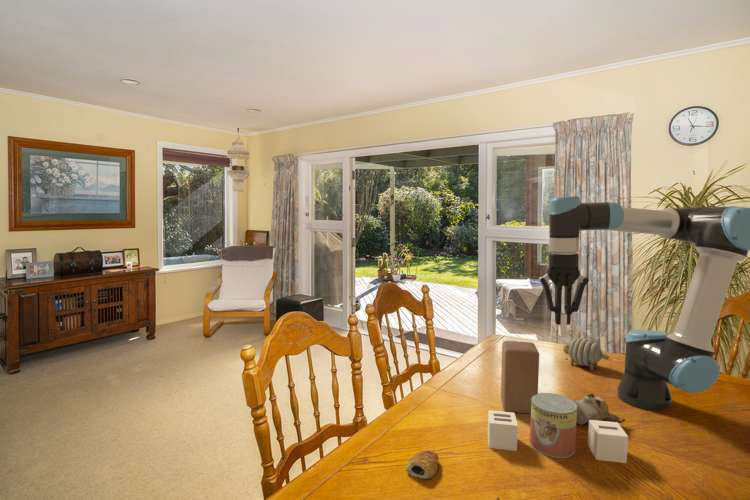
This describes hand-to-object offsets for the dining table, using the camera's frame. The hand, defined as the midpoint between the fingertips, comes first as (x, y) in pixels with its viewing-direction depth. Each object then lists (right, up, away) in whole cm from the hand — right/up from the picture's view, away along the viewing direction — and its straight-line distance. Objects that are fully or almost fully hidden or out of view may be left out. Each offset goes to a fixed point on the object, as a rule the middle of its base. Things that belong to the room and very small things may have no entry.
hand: (562, 335), depth 117 cm
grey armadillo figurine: (+30, -22, +48) cm, 61 cm away
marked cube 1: (-19, -28, -5) cm, 34 cm away
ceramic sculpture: (+12, -27, +6) cm, 30 cm away
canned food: (-6, -28, -6) cm, 29 cm away
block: (-7, -26, +15) cm, 31 cm away
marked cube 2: (+7, -28, -10) cm, 31 cm away
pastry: (-41, -30, -16) cm, 53 cm away
